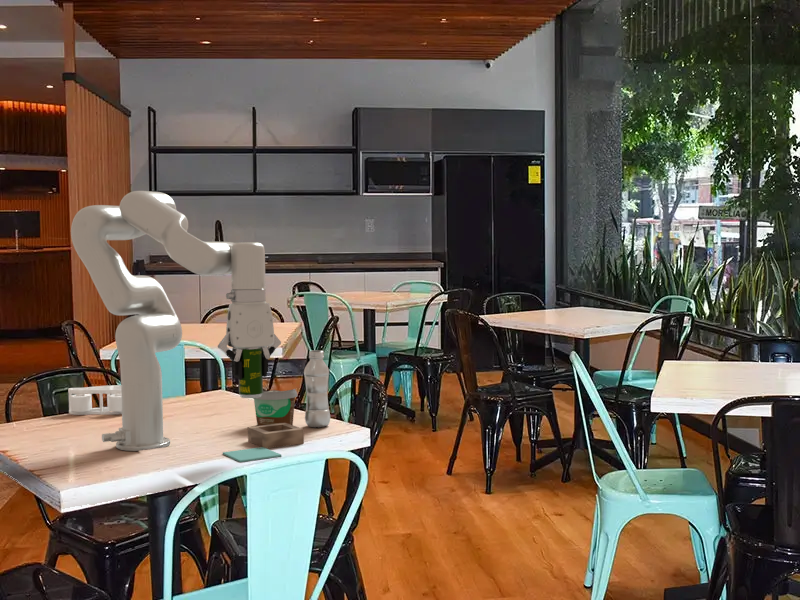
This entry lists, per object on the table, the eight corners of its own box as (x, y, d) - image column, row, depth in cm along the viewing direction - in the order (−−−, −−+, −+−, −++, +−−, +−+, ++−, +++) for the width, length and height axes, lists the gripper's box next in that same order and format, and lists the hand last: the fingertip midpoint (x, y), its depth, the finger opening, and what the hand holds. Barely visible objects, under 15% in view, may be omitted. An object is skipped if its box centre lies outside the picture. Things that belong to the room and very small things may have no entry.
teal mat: (240, 462, 211) (240, 460, 211) (222, 454, 220) (222, 452, 220) (281, 456, 217) (281, 454, 217) (262, 448, 225) (262, 446, 225)
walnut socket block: (265, 448, 225) (265, 433, 225) (248, 441, 233) (247, 427, 233) (303, 443, 230) (303, 429, 230) (285, 436, 239) (285, 422, 238)
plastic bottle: (334, 427, 249) (333, 351, 248) (310, 430, 246) (309, 353, 245) (324, 423, 255) (323, 349, 254) (300, 426, 252) (299, 350, 250)
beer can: (250, 393, 221) (249, 341, 220) (268, 395, 218) (266, 342, 217) (234, 397, 217) (232, 344, 216) (251, 399, 214) (250, 345, 213)
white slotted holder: (62, 417, 269) (61, 391, 269) (76, 410, 280) (76, 385, 280) (132, 417, 268) (131, 391, 268) (144, 410, 279) (143, 385, 279)
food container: (245, 430, 248) (244, 391, 247) (252, 425, 254) (252, 387, 253) (291, 431, 246) (291, 392, 245) (298, 426, 252) (297, 388, 251)
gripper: (219, 299, 208) (221, 382, 209) (290, 296, 217) (292, 375, 219) (206, 298, 214) (208, 378, 216) (276, 295, 224) (277, 372, 225)
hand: (250, 376), depth 217 cm, fingers closed on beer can, 5 cm apart
